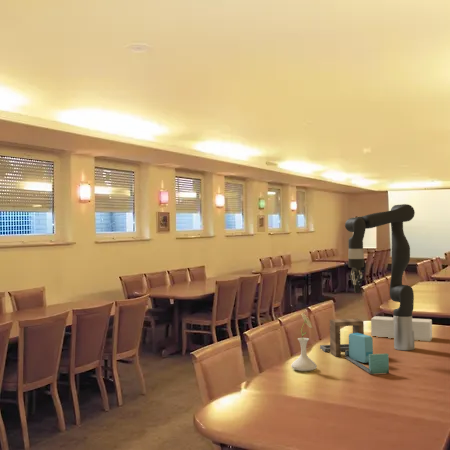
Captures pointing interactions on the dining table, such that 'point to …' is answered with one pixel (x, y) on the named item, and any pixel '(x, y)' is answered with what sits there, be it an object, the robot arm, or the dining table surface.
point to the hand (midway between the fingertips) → (356, 292)
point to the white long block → (386, 328)
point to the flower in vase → (304, 352)
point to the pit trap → (327, 347)
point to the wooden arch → (335, 332)
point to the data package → (360, 347)
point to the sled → (373, 363)
